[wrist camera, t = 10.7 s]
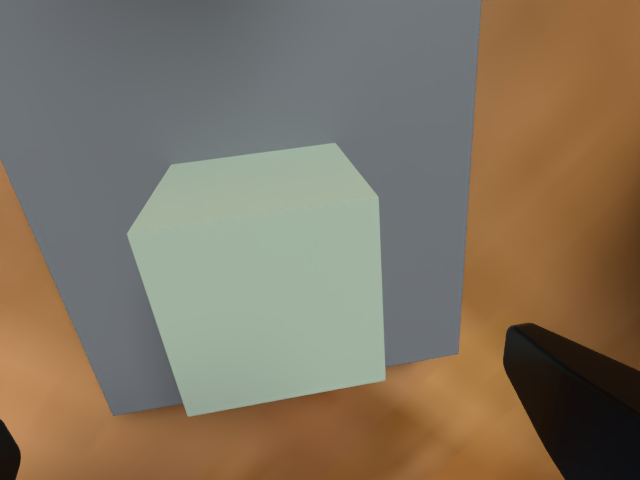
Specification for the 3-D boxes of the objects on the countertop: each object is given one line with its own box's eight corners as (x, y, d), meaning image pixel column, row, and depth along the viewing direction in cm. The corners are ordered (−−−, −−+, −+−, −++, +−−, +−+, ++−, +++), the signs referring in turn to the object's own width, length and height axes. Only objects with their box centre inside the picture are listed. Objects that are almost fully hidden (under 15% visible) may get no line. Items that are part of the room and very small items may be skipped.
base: (440, -30, 14) (484, -46, 11) (431, 312, 20) (458, 353, 18) (-1, 12, 13) (-67, 5, 10) (132, 362, 19) (113, 416, 16)
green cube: (335, 142, 13) (378, 196, 9) (346, 280, 15) (385, 380, 11) (171, 164, 13) (126, 234, 8) (206, 302, 15) (187, 416, 10)
